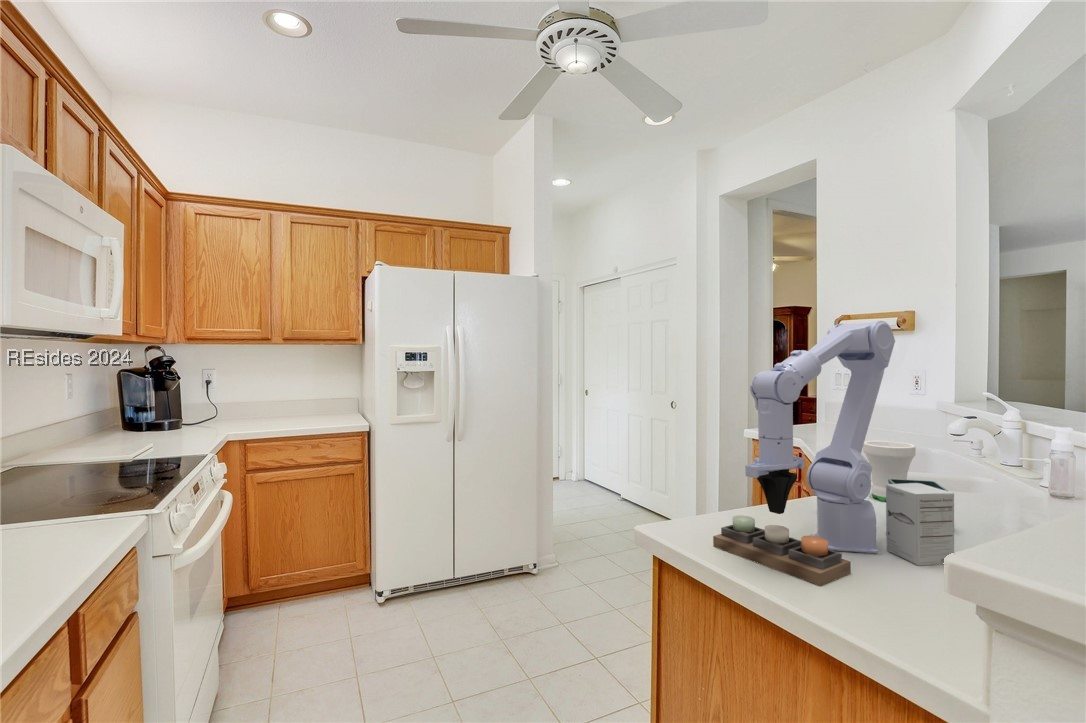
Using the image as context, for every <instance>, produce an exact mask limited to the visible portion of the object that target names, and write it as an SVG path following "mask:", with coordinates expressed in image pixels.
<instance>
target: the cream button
mask: <svg viewBox="0 0 1086 723" xmlns="http://www.w3.org/2000/svg"><path fill="white" fill-rule="evenodd" d="M764 530H765V539H766V540H767V541H770V542H773V543H788V542H789V537H790V529H789V528H788V527H786V526H783V525H778V524H767V525H765V526H764Z"/></svg>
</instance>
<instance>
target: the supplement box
mask: <svg viewBox="0 0 1086 723" xmlns="http://www.w3.org/2000/svg"><path fill="white" fill-rule="evenodd" d="M885 503H886V504H885V514H886V515H885V516H886V520H885V525H886V526H885V528H886V531H885V532H886V535H885V536H886V538H885V539H886V540H885V541H886V551H887V552H890V553H892V554H894V555H896V556H898V557H900V558H902V559H905V560H906V561H908V562H910V563H912V564H914V565H916V566H938V565H939V564H940V565H944V564H943V563H944V558H945V557H946V556H947V555H949V554H951V553H954V554H955V493H954V492H952V491H949V490H948V491H945V490H941V489H938V488H935V487H931V486H928V485H924V484H921V483H903V484H886V501H885Z"/></svg>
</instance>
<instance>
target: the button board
mask: <svg viewBox="0 0 1086 723" xmlns="http://www.w3.org/2000/svg"><path fill="white" fill-rule="evenodd" d="M720 529H721V531H720V533H719V534H716V535H713V536H712V538H713V540H712V544H713V547H714V548H716V549H719V550H721V551H725V552H728V553H729V554H733V555H736V556H738V557H740V558H744V559H746V560H749V561H751V560H752V561H751V562H754V561H755V562H754V563H757V562H758V563H757V564H759V563H760V564H759V565H762V564H763V566H765V565H766V566H765V567H767V566H768V568H770V567H771V569H773V568H774V569H773V570H776V571H778V572H780V573H781V572H782V573H784V574H786V575H789V576H792V577H794V576H795V578H797V579H800V580H802V579H803V581H805V580H806V582H808V581H809V583H810V582H812V583H811V584H813V583H814V584H813V585H816V584H817V585H816V586H818V585H819V587H821V585H822V586H824V585H826V583H827V584H828V583H831V582H833V580H834V581H835V579H836V580H839V579H841V578H843V577H845V575H846V576H848V575H851V574H852V572H851V571H852V569H851V567H852V565H851V560H848V559H844V558H843V554H842V553H841V552H840V551H837V550H829V549H828V555H826V556H815V555H810V554H807V553H804V552H803V551H802V550H801V539H796V538H793V537H790V536H789V542H788V543H773V542H770V541H767V540H766V539H765V528H764V529H763V528H761V527H757V526H755V531H754V532H739V531H736V530H734V529H733V524H730V525H727V526H722V527H721V528H720ZM840 577H841V578H840Z"/></svg>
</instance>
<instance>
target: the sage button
mask: <svg viewBox="0 0 1086 723" xmlns="http://www.w3.org/2000/svg"><path fill="white" fill-rule="evenodd" d="M732 525H733V529H734V530H736V531H739V532H754V531H755V527H756V519H755V518H754V517H751V516H750V515H749V516H748V515H734V516H732Z"/></svg>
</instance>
